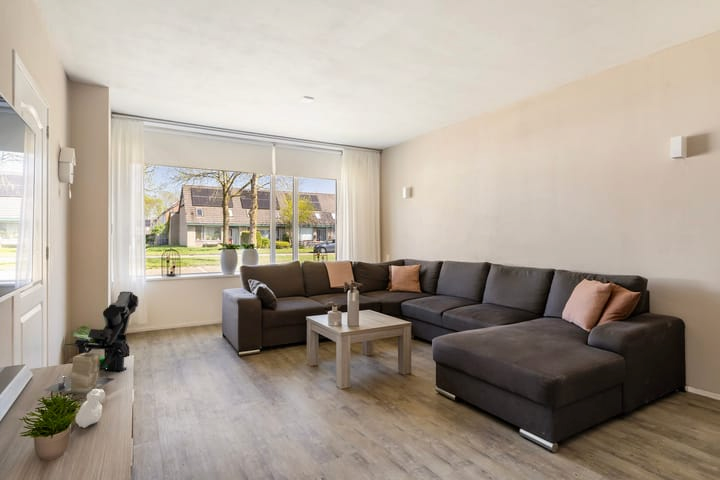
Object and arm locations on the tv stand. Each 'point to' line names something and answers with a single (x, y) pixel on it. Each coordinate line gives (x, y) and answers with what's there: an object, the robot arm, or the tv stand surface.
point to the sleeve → (85, 371)
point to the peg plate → (66, 385)
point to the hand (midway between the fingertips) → (89, 366)
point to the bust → (90, 408)
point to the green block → (101, 362)
